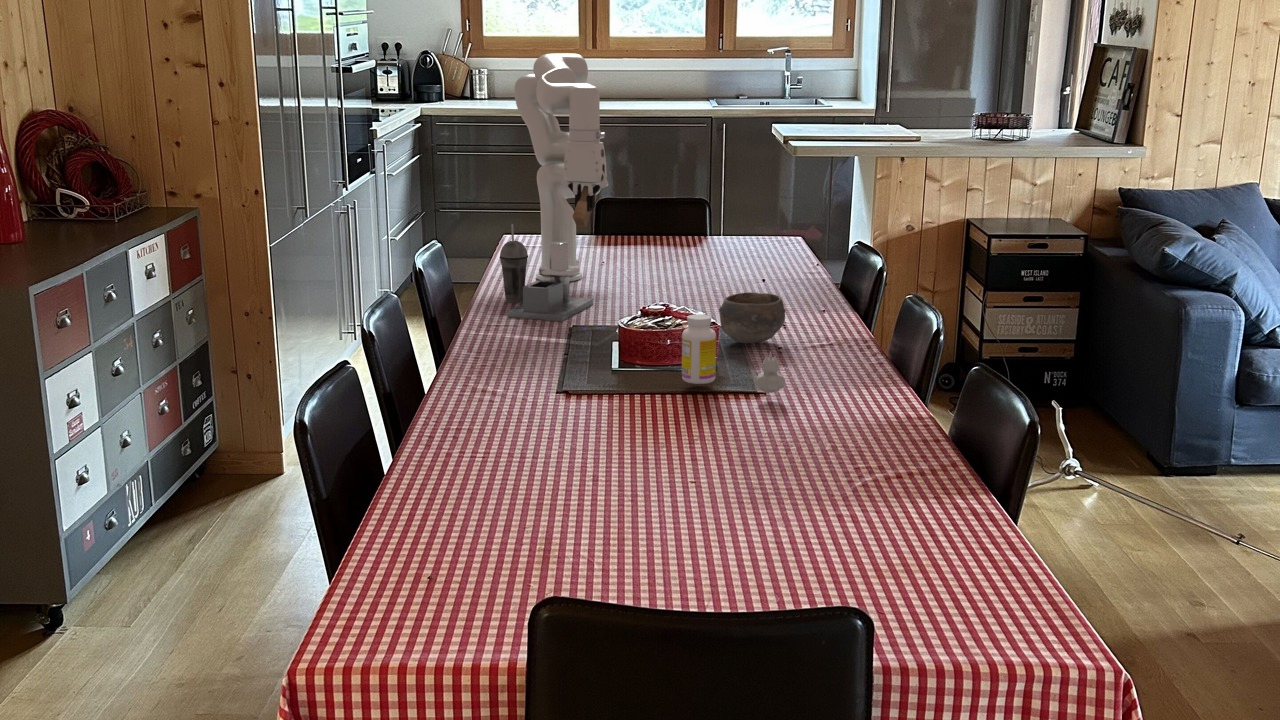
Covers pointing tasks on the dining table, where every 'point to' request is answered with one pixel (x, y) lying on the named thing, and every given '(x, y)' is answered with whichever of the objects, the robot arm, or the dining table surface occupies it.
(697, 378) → the supplement bottle
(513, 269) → the beverage cup
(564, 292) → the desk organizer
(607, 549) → the dining table surface
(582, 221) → the brown wooden block
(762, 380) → the gourd
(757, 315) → the bowl
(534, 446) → the dining table surface
